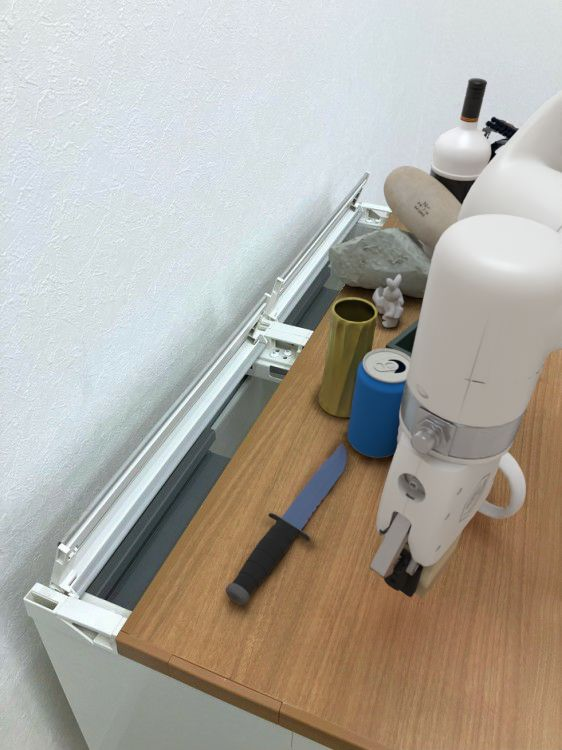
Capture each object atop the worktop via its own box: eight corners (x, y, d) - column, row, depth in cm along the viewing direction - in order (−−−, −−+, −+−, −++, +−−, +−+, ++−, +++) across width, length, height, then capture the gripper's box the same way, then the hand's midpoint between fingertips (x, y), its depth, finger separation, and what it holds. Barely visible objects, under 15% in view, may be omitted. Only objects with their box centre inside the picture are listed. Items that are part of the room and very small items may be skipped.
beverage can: (408, 459, 72) (428, 381, 65) (354, 464, 71) (368, 386, 64) (391, 420, 77) (408, 343, 69) (341, 424, 76) (352, 347, 68)
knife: (261, 608, 55) (215, 577, 56) (256, 620, 56) (212, 590, 58) (370, 450, 72) (333, 429, 73) (364, 463, 74) (328, 442, 75)
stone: (452, 143, 86) (471, 248, 86) (467, 153, 92) (485, 252, 92) (375, 171, 93) (392, 269, 93) (393, 179, 99) (410, 272, 99)
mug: (535, 520, 66) (578, 435, 58) (465, 571, 61) (501, 486, 53) (435, 435, 75) (459, 351, 67) (366, 473, 70) (383, 388, 62)
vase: (346, 425, 76) (360, 332, 67) (308, 401, 79) (316, 309, 70) (375, 401, 80) (392, 309, 70) (338, 379, 83) (349, 288, 73)
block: (451, 562, 53) (462, 530, 50) (422, 599, 50) (433, 568, 47) (404, 531, 55) (413, 499, 52) (375, 565, 52) (382, 533, 49)
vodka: (398, 258, 107) (432, 71, 88) (444, 250, 110) (487, 68, 91) (424, 285, 101) (468, 91, 81) (473, 277, 104) (526, 87, 84)
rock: (441, 303, 100) (435, 247, 103) (453, 264, 87) (446, 202, 90) (331, 311, 102) (328, 256, 104) (327, 274, 89) (324, 212, 91)
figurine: (373, 303, 98) (383, 256, 94) (405, 312, 97) (418, 265, 92) (361, 323, 92) (372, 274, 87) (396, 333, 91) (408, 283, 86)
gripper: (446, 519, 34) (396, 668, 46) (567, 369, 43) (500, 525, 55) (335, 449, 37) (316, 605, 49) (470, 326, 47) (427, 480, 59)
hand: (414, 561), depth 52 cm, fingers closed on block, 4 cm apart
